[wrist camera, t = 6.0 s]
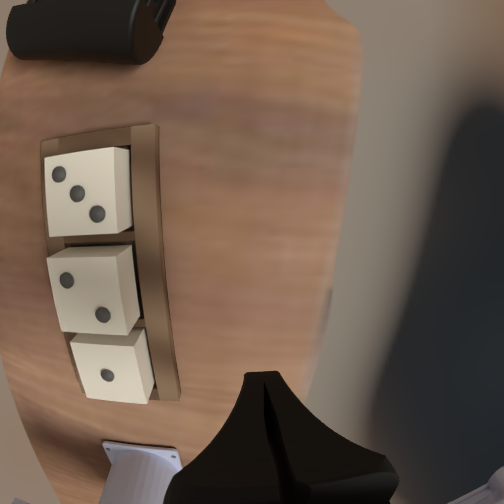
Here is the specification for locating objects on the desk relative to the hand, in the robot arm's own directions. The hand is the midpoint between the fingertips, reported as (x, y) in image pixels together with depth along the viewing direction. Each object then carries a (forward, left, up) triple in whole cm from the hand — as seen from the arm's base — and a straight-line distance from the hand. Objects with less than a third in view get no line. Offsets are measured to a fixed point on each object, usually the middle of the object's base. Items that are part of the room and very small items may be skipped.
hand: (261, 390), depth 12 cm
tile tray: (+2, +10, -10) cm, 15 cm away
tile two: (+2, +10, -9) cm, 14 cm away
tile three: (+8, +10, -10) cm, 16 cm away
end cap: (+20, +10, -11) cm, 25 cm away
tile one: (-5, +10, -10) cm, 15 cm away
